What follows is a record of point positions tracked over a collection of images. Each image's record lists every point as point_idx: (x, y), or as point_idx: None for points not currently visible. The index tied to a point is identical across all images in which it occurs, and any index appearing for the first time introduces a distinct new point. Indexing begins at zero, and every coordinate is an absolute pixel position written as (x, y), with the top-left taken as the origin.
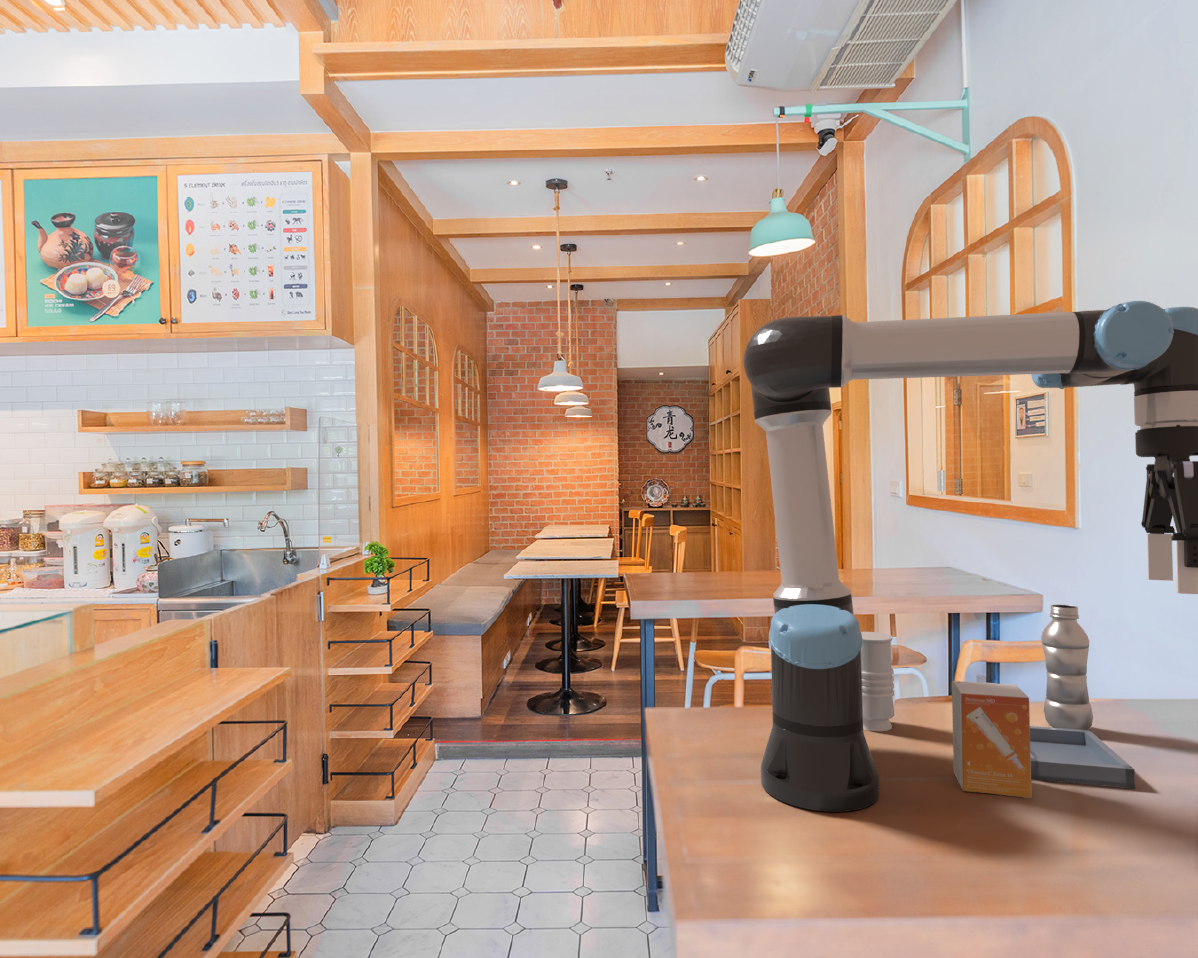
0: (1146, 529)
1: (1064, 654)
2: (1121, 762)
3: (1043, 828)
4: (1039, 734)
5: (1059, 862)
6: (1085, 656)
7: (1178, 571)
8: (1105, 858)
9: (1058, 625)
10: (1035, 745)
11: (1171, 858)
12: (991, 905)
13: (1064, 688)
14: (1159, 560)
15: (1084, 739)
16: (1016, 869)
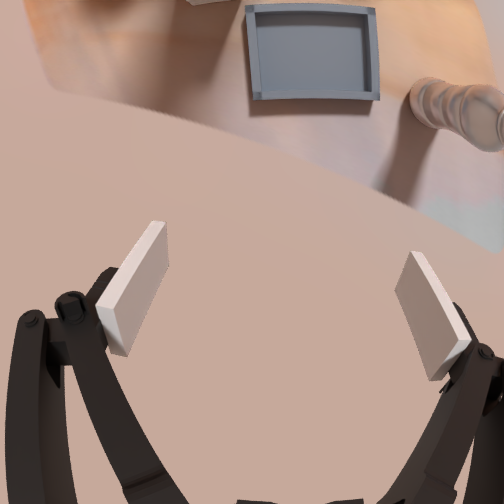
0: (480, 351)
1: (456, 101)
2: (271, 94)
3: (132, 13)
4: (368, 45)
5: (84, 26)
6: (459, 132)
7: (133, 250)
8: (99, 51)
9: (493, 107)
10: (348, 36)
11: (115, 92)
12: (32, 4)
13: (434, 95)
14: (419, 302)
15: (369, 91)
16: (68, 5)
